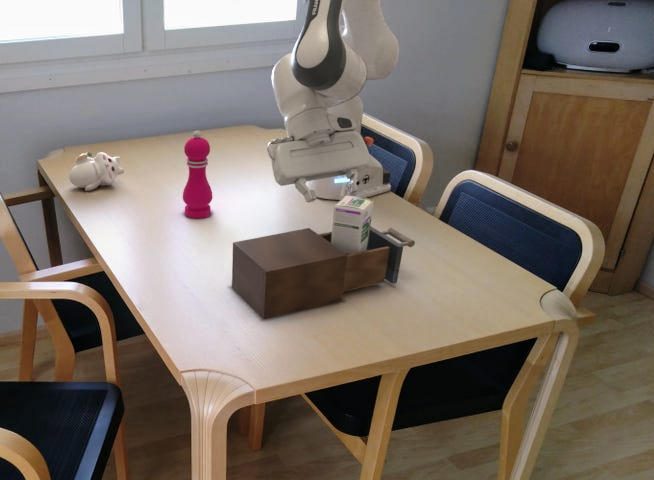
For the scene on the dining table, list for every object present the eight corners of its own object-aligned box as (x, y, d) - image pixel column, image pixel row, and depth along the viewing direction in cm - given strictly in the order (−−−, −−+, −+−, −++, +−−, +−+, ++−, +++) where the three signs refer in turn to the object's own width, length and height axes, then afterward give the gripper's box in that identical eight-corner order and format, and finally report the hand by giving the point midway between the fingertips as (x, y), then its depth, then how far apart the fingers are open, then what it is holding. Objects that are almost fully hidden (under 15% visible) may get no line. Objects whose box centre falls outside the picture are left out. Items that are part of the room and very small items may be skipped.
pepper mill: (209, 220, 162) (210, 135, 151) (180, 218, 164) (178, 134, 153) (214, 208, 168) (215, 126, 157) (186, 207, 170) (184, 126, 158)
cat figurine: (65, 156, 176) (118, 141, 180) (61, 164, 184) (112, 150, 188) (77, 192, 177) (130, 176, 181) (73, 198, 185) (123, 183, 189)
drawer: (380, 253, 143) (385, 218, 138) (417, 278, 133) (425, 241, 129) (295, 271, 137) (298, 235, 132) (328, 298, 127) (332, 260, 123)
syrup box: (355, 281, 130) (365, 209, 122) (326, 274, 133) (334, 203, 125) (365, 269, 134) (375, 199, 126) (336, 263, 137) (344, 194, 129)
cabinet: (305, 271, 139) (309, 227, 133) (341, 301, 128) (347, 254, 123) (231, 287, 134) (232, 242, 128) (263, 319, 123) (266, 271, 118)
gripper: (270, 131, 129) (292, 198, 127) (361, 118, 135) (384, 181, 133) (258, 149, 135) (279, 212, 133) (346, 135, 141) (368, 196, 139)
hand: (332, 196), depth 133 cm, fingers open, 8 cm apart
